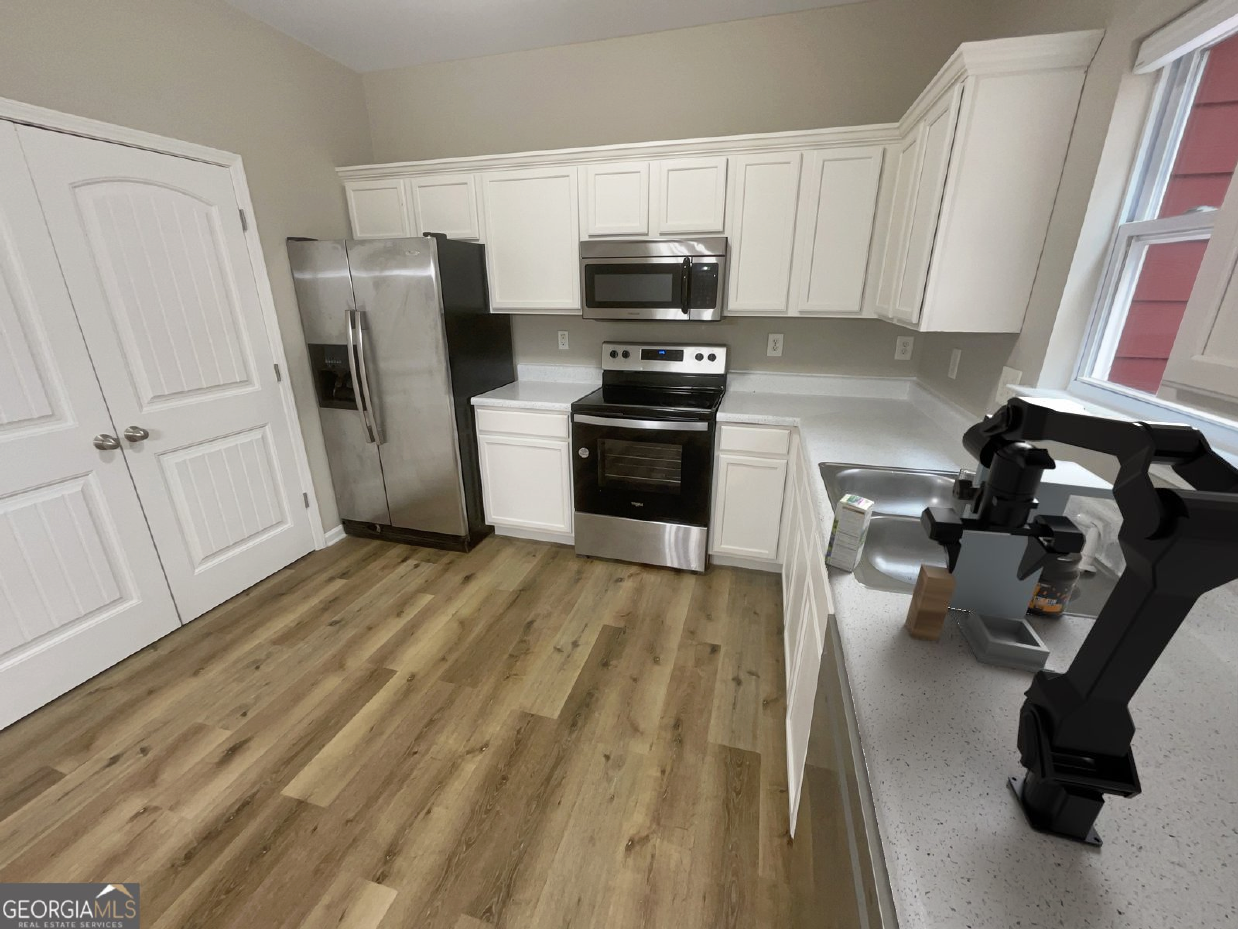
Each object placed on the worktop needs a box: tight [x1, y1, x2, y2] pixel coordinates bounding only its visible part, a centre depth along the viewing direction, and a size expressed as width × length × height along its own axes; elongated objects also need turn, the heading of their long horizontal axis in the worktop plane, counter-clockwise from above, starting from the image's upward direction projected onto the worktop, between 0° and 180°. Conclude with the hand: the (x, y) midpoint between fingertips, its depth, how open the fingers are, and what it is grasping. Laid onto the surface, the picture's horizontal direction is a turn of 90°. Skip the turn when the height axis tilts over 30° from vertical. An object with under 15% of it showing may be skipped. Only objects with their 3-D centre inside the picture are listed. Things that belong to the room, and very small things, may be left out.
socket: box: [957, 610, 1056, 674], centre depth 82 cm, size 10×10×4 cm
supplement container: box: [1026, 552, 1083, 618], centre depth 92 cm, size 10×10×12 cm
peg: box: [904, 563, 956, 644], centre depth 83 cm, size 4×4×12 cm
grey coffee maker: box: [949, 459, 1116, 619], centre depth 81 cm, size 12×13×30 cm
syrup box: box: [824, 493, 875, 573], centre depth 103 cm, size 6×6×14 cm
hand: (983, 575), depth 76 cm, fingers open, 9 cm apart
